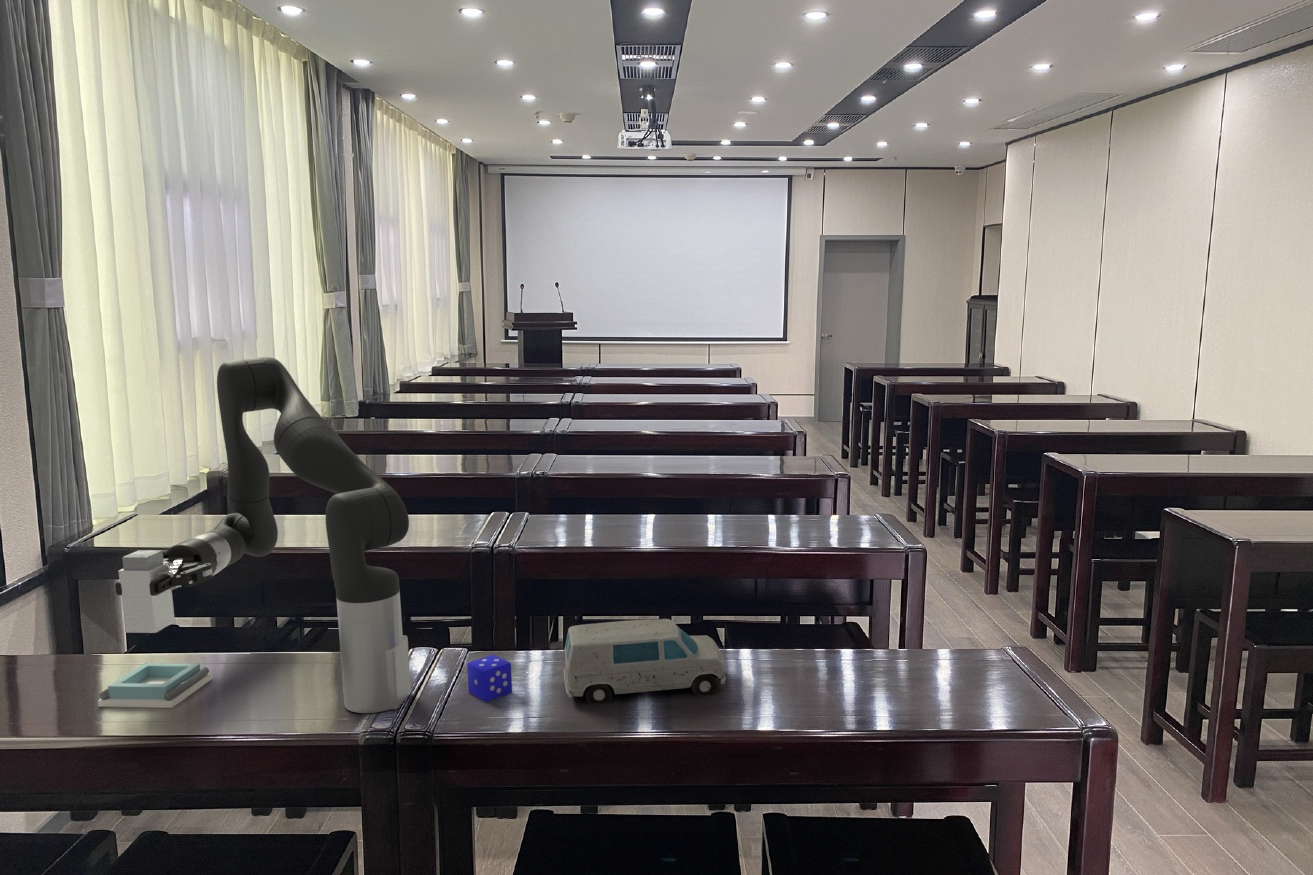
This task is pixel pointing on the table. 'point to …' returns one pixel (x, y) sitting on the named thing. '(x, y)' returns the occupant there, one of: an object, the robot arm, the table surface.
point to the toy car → (638, 660)
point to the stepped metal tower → (145, 592)
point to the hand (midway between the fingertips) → (135, 589)
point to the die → (489, 677)
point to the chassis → (155, 686)
